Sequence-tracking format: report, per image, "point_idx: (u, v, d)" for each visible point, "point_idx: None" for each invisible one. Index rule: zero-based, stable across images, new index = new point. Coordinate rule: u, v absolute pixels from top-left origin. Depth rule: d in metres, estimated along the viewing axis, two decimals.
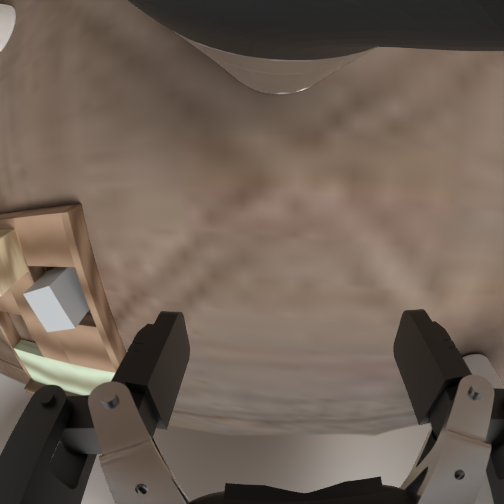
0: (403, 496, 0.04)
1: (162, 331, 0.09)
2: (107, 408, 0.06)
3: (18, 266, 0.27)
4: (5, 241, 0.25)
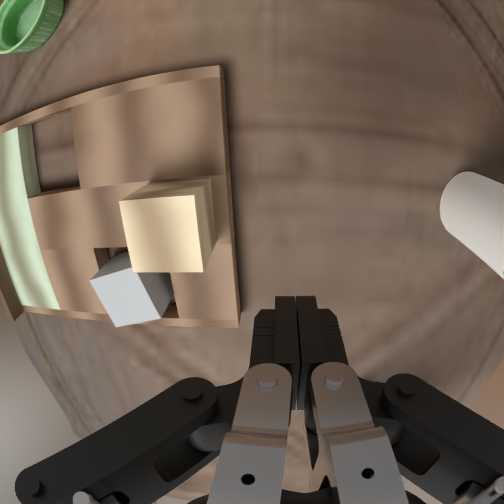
0: None
1: (287, 313, 0.10)
2: (272, 390, 0.07)
3: None
4: None
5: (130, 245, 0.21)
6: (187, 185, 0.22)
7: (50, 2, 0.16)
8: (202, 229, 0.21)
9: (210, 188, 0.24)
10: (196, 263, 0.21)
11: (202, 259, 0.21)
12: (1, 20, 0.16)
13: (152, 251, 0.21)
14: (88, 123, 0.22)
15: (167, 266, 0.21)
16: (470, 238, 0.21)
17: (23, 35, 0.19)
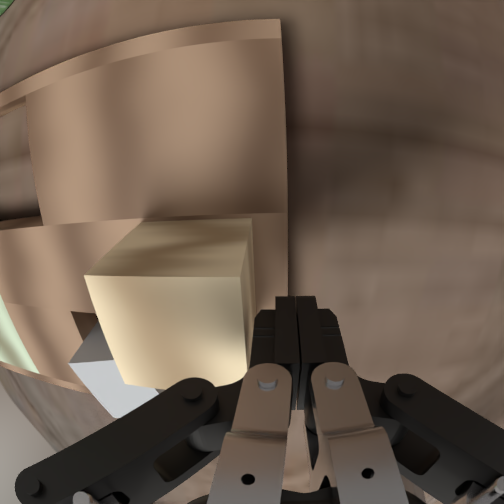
0: None
1: (287, 313, 0.10)
2: (272, 390, 0.07)
3: None
4: None
5: (114, 349, 0.11)
6: (214, 236, 0.12)
7: None
8: (247, 326, 0.11)
9: (251, 235, 0.14)
10: None
11: None
12: None
13: (156, 363, 0.11)
14: (49, 118, 0.12)
15: None
16: None
17: None
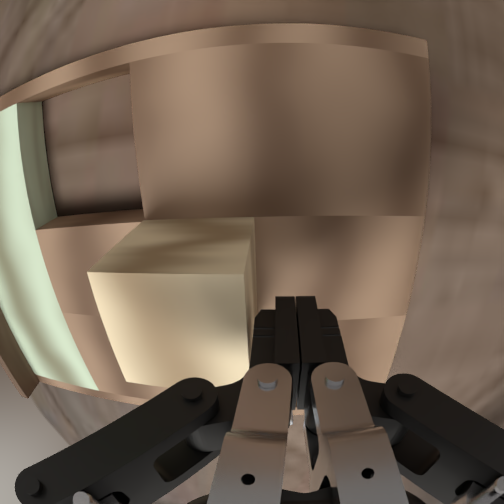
0: None
1: (287, 313, 0.10)
2: (272, 390, 0.07)
3: None
4: None
5: (116, 346, 0.11)
6: (217, 234, 0.12)
7: None
8: (250, 324, 0.11)
9: (254, 234, 0.14)
10: None
11: None
12: None
13: (158, 360, 0.11)
14: (167, 93, 0.12)
15: None
16: None
17: None
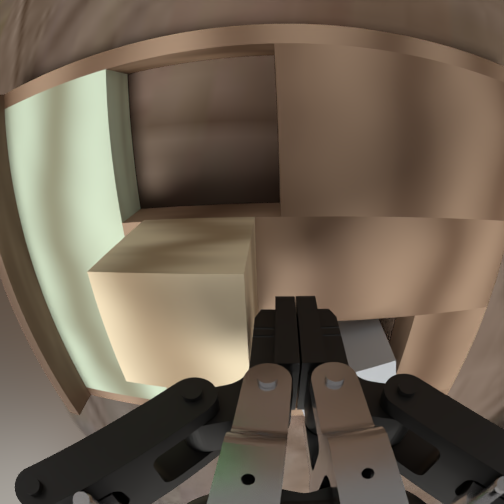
0: None
1: (287, 313, 0.10)
2: (272, 390, 0.07)
3: None
4: None
5: (117, 346, 0.11)
6: (217, 234, 0.12)
7: None
8: (250, 324, 0.11)
9: (254, 234, 0.14)
10: None
11: None
12: None
13: (158, 360, 0.11)
14: (319, 84, 0.11)
15: None
16: None
17: None
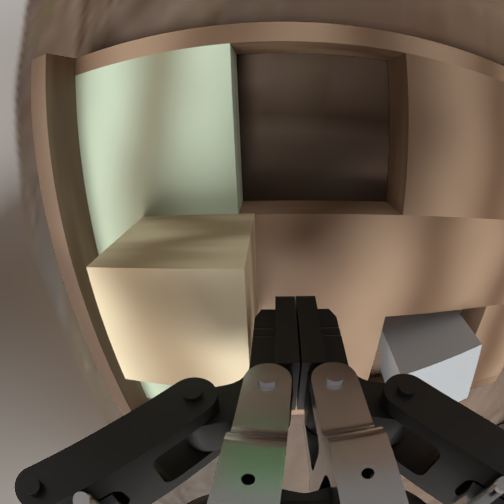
0: None
1: (287, 313, 0.10)
2: (272, 391, 0.07)
3: None
4: None
5: (116, 342, 0.11)
6: (217, 230, 0.12)
7: None
8: (250, 320, 0.11)
9: (254, 231, 0.14)
10: (238, 378, 0.11)
11: None
12: None
13: (158, 357, 0.11)
14: (440, 97, 0.11)
15: None
16: None
17: None
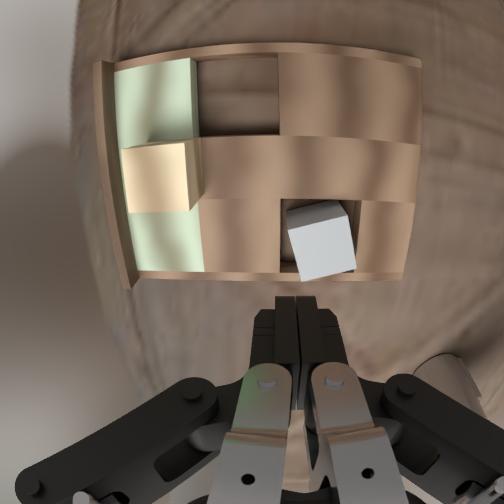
0: None
1: (287, 313, 0.10)
2: (272, 390, 0.07)
3: None
4: None
5: (128, 188, 0.23)
6: (180, 140, 0.25)
7: None
8: (190, 175, 0.24)
9: (200, 145, 0.27)
10: (183, 202, 0.24)
11: (189, 200, 0.24)
12: None
13: (146, 193, 0.24)
14: (299, 72, 0.23)
15: (159, 206, 0.24)
16: None
17: None
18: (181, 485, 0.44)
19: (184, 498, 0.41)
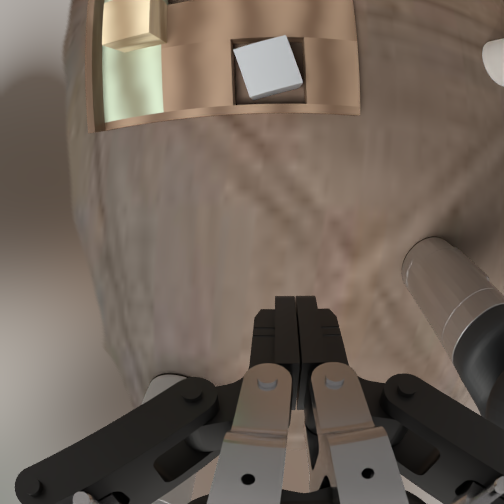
0: None
1: (287, 313, 0.10)
2: (271, 390, 0.07)
3: (129, 48, 0.27)
4: (155, 40, 0.26)
5: (104, 27, 0.22)
6: None
7: None
8: (153, 13, 0.22)
9: (166, 8, 0.25)
10: (145, 27, 0.22)
11: (149, 25, 0.22)
12: None
13: (118, 26, 0.22)
14: None
15: (126, 33, 0.22)
16: None
17: None
18: None
19: None
